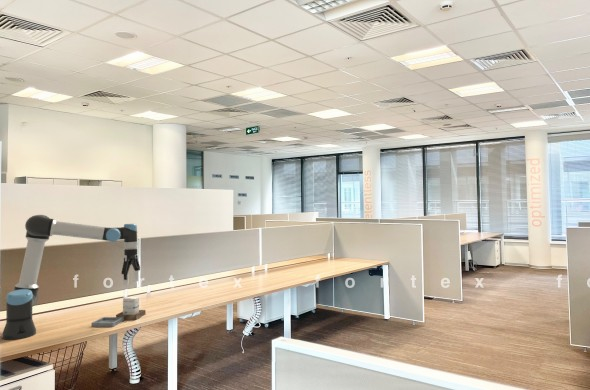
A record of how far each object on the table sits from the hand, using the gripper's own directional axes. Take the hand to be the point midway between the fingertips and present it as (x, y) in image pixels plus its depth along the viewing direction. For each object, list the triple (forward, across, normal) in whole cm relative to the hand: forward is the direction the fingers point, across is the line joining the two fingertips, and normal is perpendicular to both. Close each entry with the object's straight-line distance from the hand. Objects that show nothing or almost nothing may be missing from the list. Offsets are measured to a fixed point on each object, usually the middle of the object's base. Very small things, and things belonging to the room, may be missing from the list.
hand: (131, 283), depth 261 cm
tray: (+21, -15, +7) cm, 27 cm away
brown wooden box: (+21, 0, 0) cm, 21 cm away
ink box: (+21, 0, 0) cm, 21 cm away
